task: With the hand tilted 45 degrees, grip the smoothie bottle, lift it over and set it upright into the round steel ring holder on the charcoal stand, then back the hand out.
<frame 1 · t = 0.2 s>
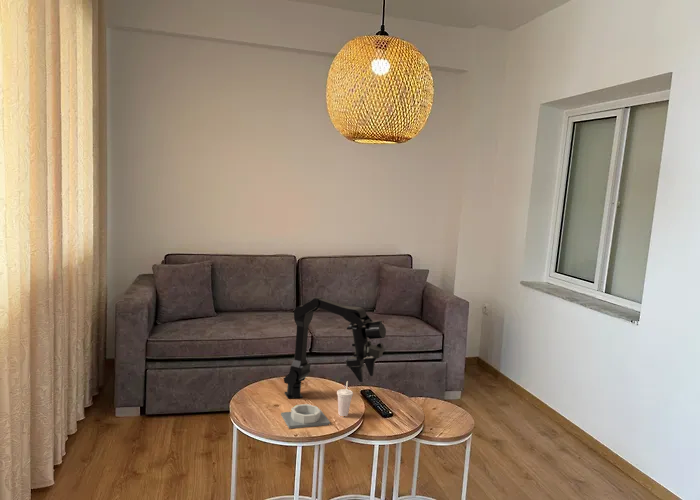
hand: (366, 378, 203), 16 cm above the table, tool tilted 15°, fingers open, 9 cm apart
smoothie: (343, 415, 204), on the table
bottle stand: (305, 419, 197), on the table
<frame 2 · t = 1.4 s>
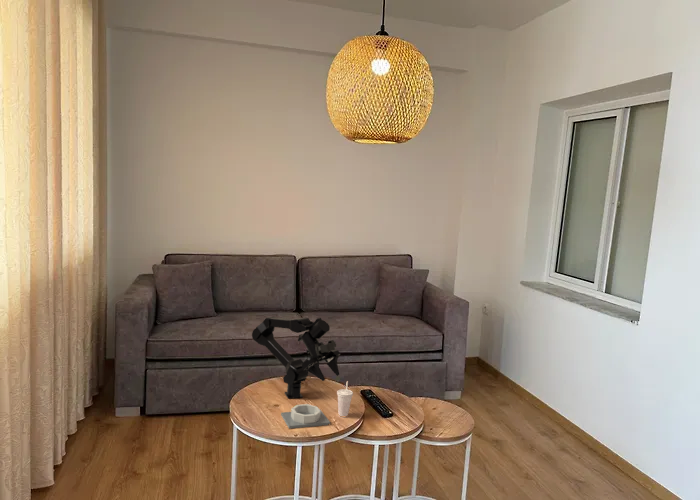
hand: (331, 377, 207), 13 cm above the table, tool tilted 45°, fingers open, 9 cm apart
nothing on the table moved.
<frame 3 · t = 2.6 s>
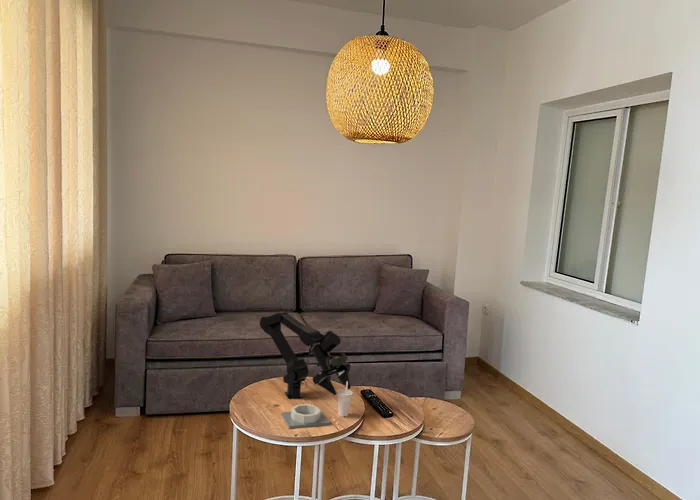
hand: (342, 391, 204), 9 cm above the table, tool tilted 45°, fingers open, 9 cm apart
nothing on the table moved.
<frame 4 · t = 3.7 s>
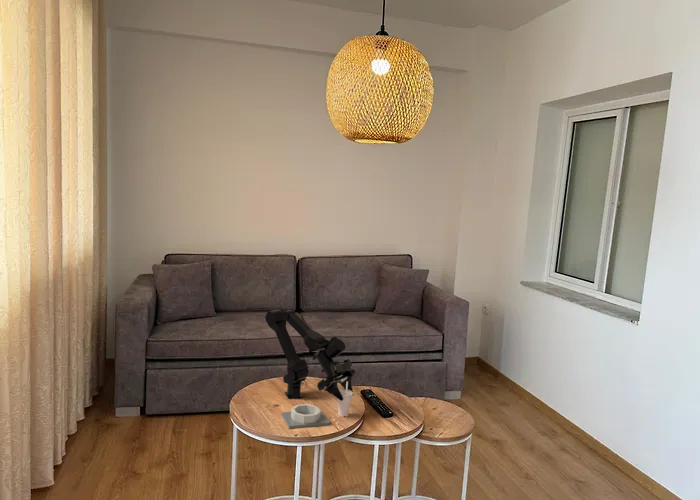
hand: (347, 397, 203), 8 cm above the table, tool tilted 45°, fingers closed on smoothie, 6 cm apart
smoothie: (343, 415, 204), on the table, touching gripper
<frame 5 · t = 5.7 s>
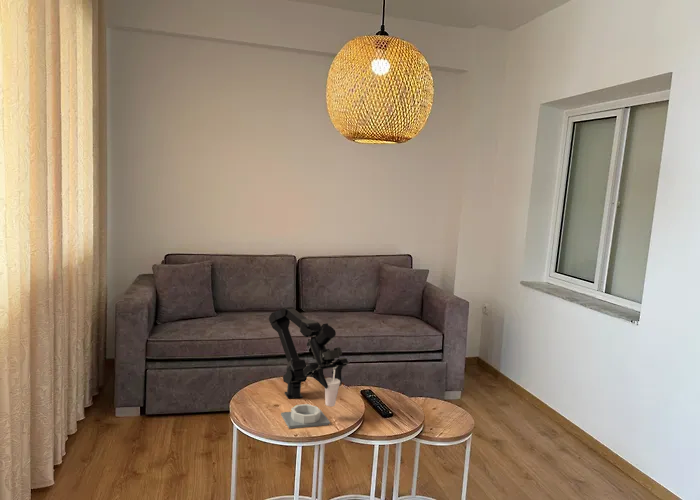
hand: (333, 386, 198), 13 cm above the table, tool tilted 45°, fingers closed on smoothie, 6 cm apart
smoothie: (330, 404, 200), point 5 cm above the table, touching gripper
when the fingers open (10 cm above the table, at t = 7.7 s): smoothie drops 1 cm, resting on bottle stand.
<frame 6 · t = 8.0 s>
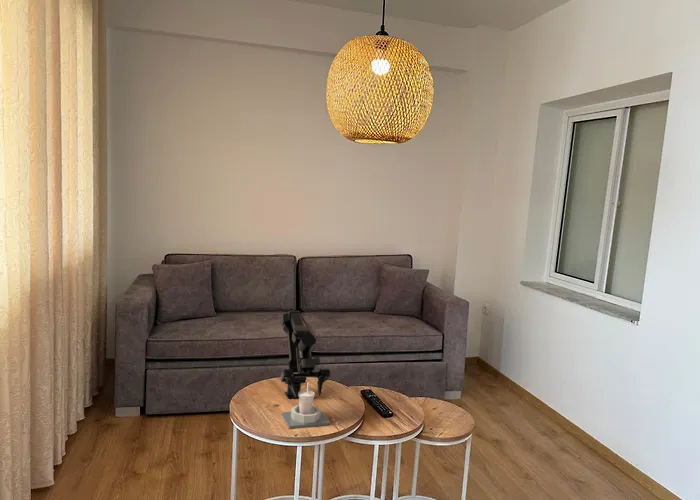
hand: (307, 396, 195), 10 cm above the table, tool tilted 45°, fingers open, 9 cm apart
smoothie: (304, 417, 197), point 1 cm above the table, touching bottle stand
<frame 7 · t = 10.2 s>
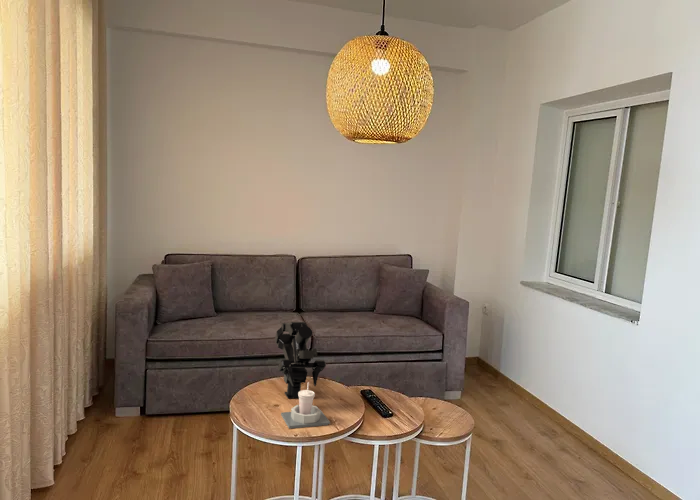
hand: (304, 385, 204), 10 cm above the table, tool tilted 40°, fingers open, 9 cm apart
nothing on the table moved.
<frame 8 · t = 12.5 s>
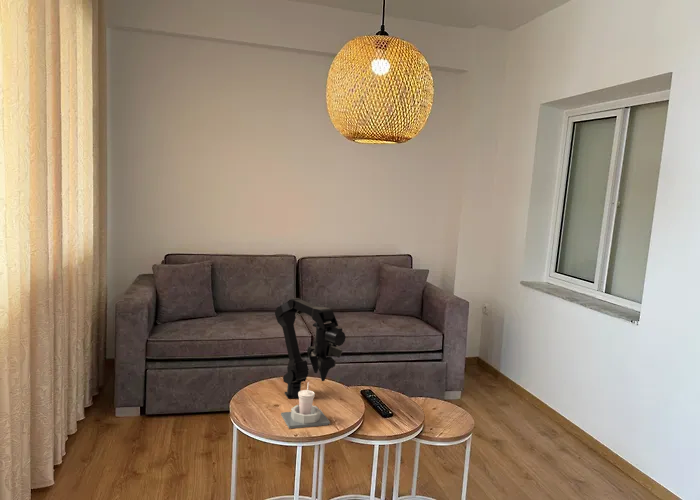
hand: (319, 376, 208), 13 cm above the table, tool pointing down, fingers open, 9 cm apart
nothing on the table moved.
at the end: smoothie 0.2 cm off-centre on the bottle stand, point 0.8 cm above the bottle stand's base; smoothie tilted 0°; the gripper is holding nothing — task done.
